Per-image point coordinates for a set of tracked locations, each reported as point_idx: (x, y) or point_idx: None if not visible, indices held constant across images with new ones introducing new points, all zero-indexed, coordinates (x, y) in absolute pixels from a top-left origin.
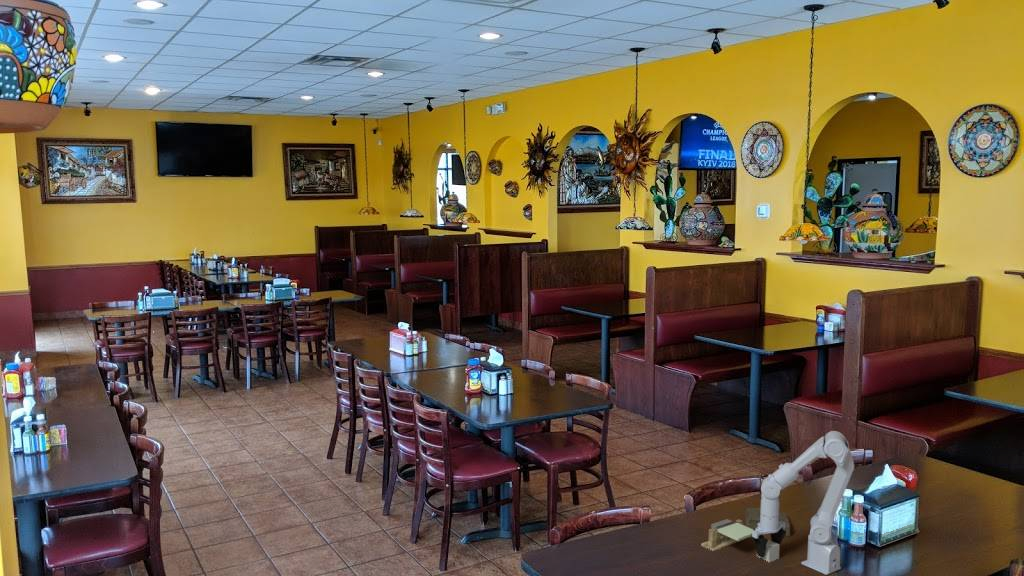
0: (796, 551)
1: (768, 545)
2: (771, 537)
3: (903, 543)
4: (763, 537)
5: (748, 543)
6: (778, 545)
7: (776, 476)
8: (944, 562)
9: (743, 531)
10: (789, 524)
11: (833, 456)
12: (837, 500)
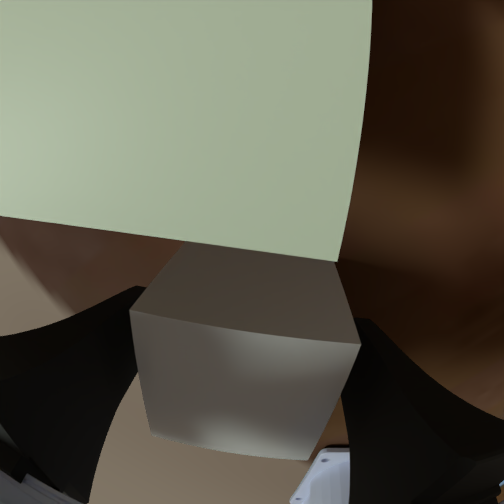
0: (472, 365)
1: (188, 420)
2: (396, 395)
3: None
4: (51, 483)
5: (388, 31)
6: (292, 452)
7: None
8: (501, 495)
9: (42, 22)
10: None
11: None
12: None
